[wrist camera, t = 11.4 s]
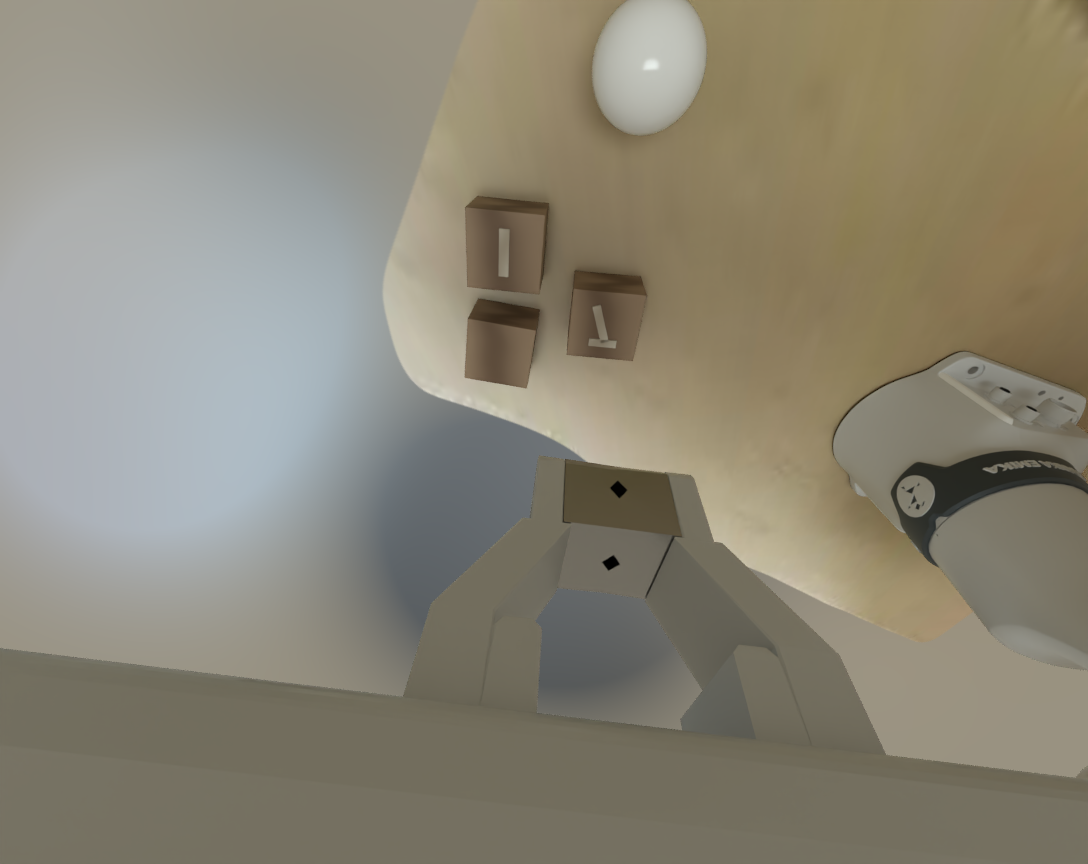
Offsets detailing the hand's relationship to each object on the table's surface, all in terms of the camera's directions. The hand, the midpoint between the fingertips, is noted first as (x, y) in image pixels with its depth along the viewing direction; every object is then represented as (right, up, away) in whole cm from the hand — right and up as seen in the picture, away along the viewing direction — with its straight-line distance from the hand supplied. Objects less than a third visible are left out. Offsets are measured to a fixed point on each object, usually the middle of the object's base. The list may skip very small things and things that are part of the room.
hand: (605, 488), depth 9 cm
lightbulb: (+5, +27, +22) cm, 35 cm away
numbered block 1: (-4, +18, +30) cm, 35 cm away
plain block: (-5, +11, +35) cm, 37 cm away
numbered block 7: (+4, +13, +33) cm, 36 cm away
